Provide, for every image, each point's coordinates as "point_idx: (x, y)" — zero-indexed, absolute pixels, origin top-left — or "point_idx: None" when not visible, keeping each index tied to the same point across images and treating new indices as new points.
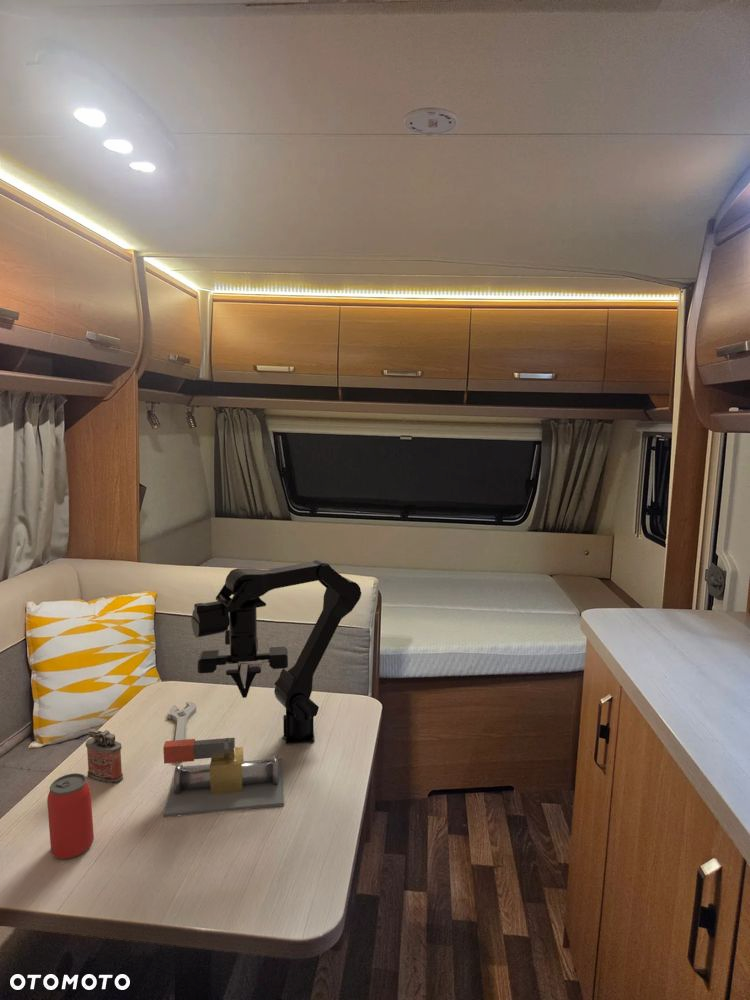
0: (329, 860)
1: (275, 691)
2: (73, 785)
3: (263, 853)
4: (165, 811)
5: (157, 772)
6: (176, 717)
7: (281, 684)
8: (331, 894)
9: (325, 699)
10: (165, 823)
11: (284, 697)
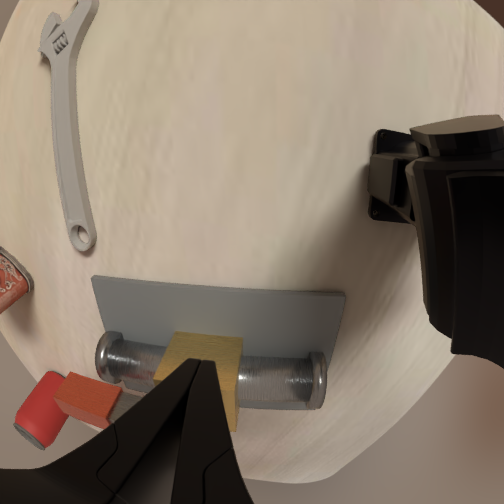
0: (341, 455)
1: (424, 186)
2: (34, 440)
3: (274, 449)
4: (126, 384)
5: (67, 274)
6: (50, 61)
7: (485, 259)
8: (329, 471)
9: (469, 19)
10: (136, 394)
11: (444, 313)
